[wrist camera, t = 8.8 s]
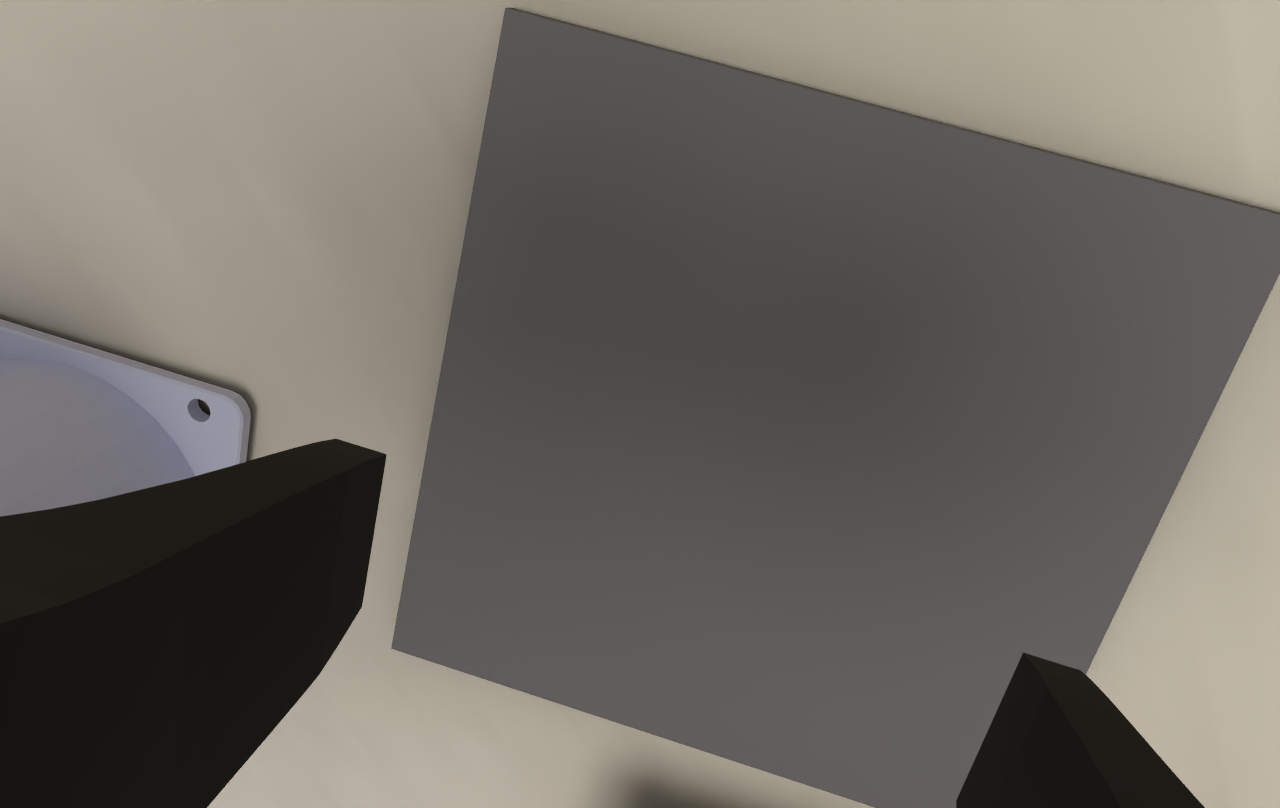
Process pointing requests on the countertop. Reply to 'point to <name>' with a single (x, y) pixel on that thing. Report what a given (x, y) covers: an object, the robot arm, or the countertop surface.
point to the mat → (802, 409)
